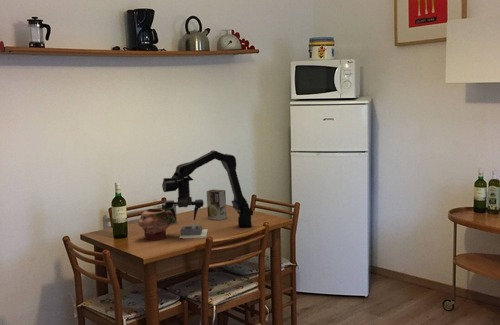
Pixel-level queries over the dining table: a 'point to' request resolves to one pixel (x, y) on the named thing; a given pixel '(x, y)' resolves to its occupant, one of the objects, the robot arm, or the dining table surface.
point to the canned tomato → (168, 215)
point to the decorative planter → (155, 223)
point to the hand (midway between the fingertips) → (185, 220)
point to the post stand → (203, 235)
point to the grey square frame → (190, 230)
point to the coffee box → (216, 204)
